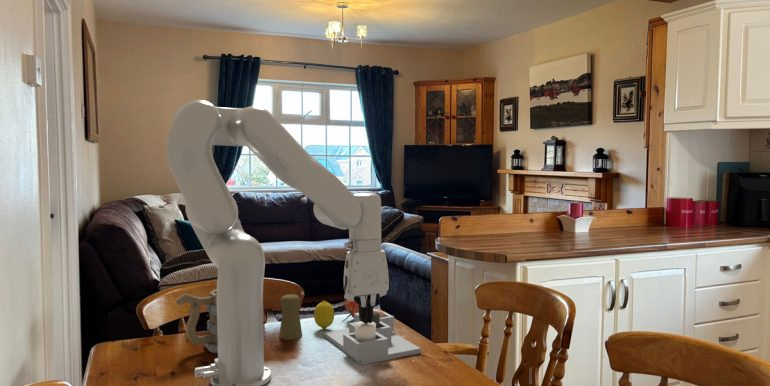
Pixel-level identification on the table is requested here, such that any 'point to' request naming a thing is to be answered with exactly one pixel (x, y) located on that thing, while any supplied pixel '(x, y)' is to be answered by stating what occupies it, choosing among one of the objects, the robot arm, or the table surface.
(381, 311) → the terracotta button
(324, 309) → the lemon
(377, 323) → the black button
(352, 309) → the red flower
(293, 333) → the olive green shaker
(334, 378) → the table surface
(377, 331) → the grey stepped holder base
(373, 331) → the cream button
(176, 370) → the table surface
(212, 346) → the tankard
